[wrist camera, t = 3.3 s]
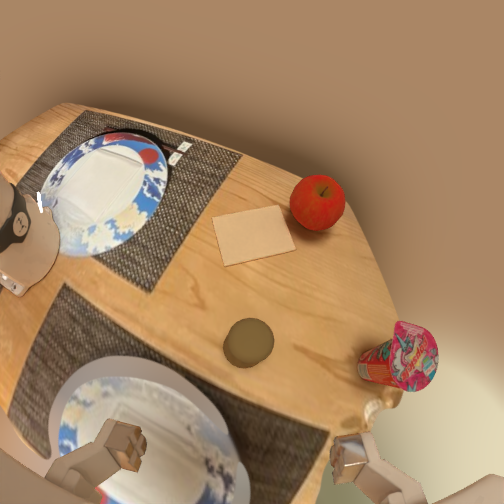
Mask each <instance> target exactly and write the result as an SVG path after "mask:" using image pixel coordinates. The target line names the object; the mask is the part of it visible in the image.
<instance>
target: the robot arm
mask: <svg viewBox="0 0 504 504" xmlns="http://www.w3.org/2000/svg"><path fill="white" fill-rule="evenodd" d="M37 196H38V203H37V202H36V201H35V200H34V199H33V198H32V197H31V196H30V195H28V194H27V195H22V194H21V192H20V190H19V189H18V188H17V187H15V186H14V185H13V184H12V183H9V182H8V181H7V179H6V178H5V177H4V175H3V174H2V173H1V171H0V284H2V285H3V286H4V287H5V288H7V289H8V290H9V291H11V292H12V293H13V294H15V295H16V296H18V297H21V296H23V295H24V293H25V292H26V291H27V290H28V288H29V287H30V286H32V285H34V284H35V283H37V282H39V281H40V280H41V279H42V278H43V277H44V276H45V275H46V274H47V273H48V271H49V270H50V269H51V267H52V265H53V263H54V261H55V259H56V256H57V253H58V249H59V243H60V236H59V230H58V228H57V226H56V224H55V223H54V221H53V219H52V211H51V209H50V208H49V207H42V205H41V198H40V193H39V192H37ZM141 432H142V430H141V428H140V427H139V426H135V425H131V424H127V423H123V422H120V421H116V420H113V419H107V420H106V421H105V423H104V425H103V427H102V428H101V430H100V432H99V434H98V436H97V437H96V439H95V441H94V443H92V442H90V443H88V444H86V445H84V446H82V447H80V448H78V449H76V450H74V451H72V452H70V453H68V454H66V455H64V456H62V457H60V458H58V459H56V460H55V461H54V463H53V464H52V466H51V467H50V469H49V471H48V473H47V474H46V476H45V478H43V477H41V476H40V475H38V474H36V473H35V472H33V471H32V470H30V469H29V468H27V467H26V466H24V465H23V464H21V463H20V462H18V461H17V460H16V459H14V458H13V457H11V456H10V455H9V454H7V453H6V452H5V451H4V450H2V449H1V448H0V504H100V502H101V499H102V495H101V494H100V493H99V492H98V491H97V490H96V489H95V487H97V486H98V485H99V484H101V483H102V482H104V481H105V480H106V479H108V478H109V477H111V476H112V475H113V474H115V473H116V472H117V471H119V470H120V469H121V468H123V469H126V470H130V471H134V472H138V470H139V467H140V465H141V462H142V461H141V459H140V457H141V456H143V455H144V454H145V452H146V447H147V442H146V438H145V437H144V436H143V435H142V434H141ZM330 463H331V466H333V467H334V470H333V472H332V475H333V480H334V484H335V485H336V484H343V483H349V482H353V483H354V484H355V485H356V486H357V487H358V488H359V489H360V490H361V491H362V492H363V493H364V494H365V495H367V497H369V498H370V499H371V500H372V501H373V502H374V503H375V504H428V503H427V500H426V497H425V495H424V492H423V490H422V486H421V484H420V483H419V482H417V481H416V480H414V479H413V478H411V477H410V476H408V475H407V474H405V473H404V472H402V471H401V470H399V469H398V468H396V467H395V466H393V465H392V464H390V463H389V462H387V461H386V460H385V459H383V460H381V458H380V455H379V452H378V449H377V446H376V443H375V440H374V437H373V435H372V433H371V432H370V431H368V432H363V433H356V434H349V435H343V436H336V437H335V439H334V445H333V446H331V450H330ZM433 504H504V477H501V476H498V475H495V474H489V475H487V476H485V477H483V478H481V479H480V480H478V481H476V482H474V483H473V484H471V485H469V486H467V487H466V488H464V489H462V490H460V491H458V492H456V493H454V494H452V495H450V496H448V497H446V498H444V499H442V500H439V501H437V502H435V503H433Z"/></svg>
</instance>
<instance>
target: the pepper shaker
mask: <svg viewBox="0 0 504 504" xmlns="http://www.w3.org/2000/svg"><path fill="white" fill-rule="evenodd" d="M273 347H274V336H273V333H272V331H271V329H270V327H269V326H268V325H267V324H266V323H265V322H263V321H261V320H259V319H255V318H246V319H242V320H240V321H238V322H236V323H235V324H234V325H233V326H232V327H231V329H230V331H229V333H228V335H227V337H226V339H225V341H224V346H223V350H224V355H225V356H226V358H227V360H228V361H229V362H230V363H231V364H232V365H234V366H237V367H240V368H249V367H252V366H254V365H256V364H258V363H259V362H261V361H262V360H264V359H266V358H267V357H268V356H269V355H270V353H271V351H272V349H273Z"/></svg>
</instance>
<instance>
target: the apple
mask: <svg viewBox="0 0 504 504" xmlns="http://www.w3.org/2000/svg"><path fill="white" fill-rule="evenodd" d="M344 208H345V195H344V192H343V190H342V188H341V186H340V185H339V184H338V183H337V182H336V181H335V180H334V179H332V178H330V177H328V176H325V175H312V176H308V177H306V178H304V179H302V180H301V181H300V182H299V183H298V184H297V185H296V186H295V188H294V190H293V192H292V194H291V196H290V209H291V212H292V214H293V216H294V218H295V219H296V220H297V221H298V222H299V223H300V224H301V225H302V226H304V227H305V228H307V229H310V230H314V231H319V230H324V229H327V228H330V227H332V226H333V225H334V224H335V223H336V222H337V221H338V220H339V218H340V217H341V216H342V215H343V212H344Z"/></svg>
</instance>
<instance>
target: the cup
mask: <svg viewBox="0 0 504 504" xmlns="http://www.w3.org/2000/svg"><path fill="white" fill-rule="evenodd" d="M437 367H438V348H437V344H436V342H435V339H434V337H433V336H432V335H431V333H430V332H429V331H428V330H426V329H425V328H423V327H420V326H417V325H414V324H410V323H406V322H403V321H397V322H396V323H395V327H394V334H393V338H392V339H390V340H389V341H387V342H385V343H383V344H381V345H379V346H377V347H375V348H373V349H371V350H369V351H367V352H365V353H364V354H362V356H361V357H360V359H359V361H358V373H359V375H360V376H361V377H362V378H363V379H364V380H367V381H371V382H375V383H379V384H384V385H388V386H393V387H397V388H401V389H403V390H405V391H408V392H416V391H419V390H421V389H423V388H425V387H426V386H427V385H428V384H429V383H430V382H431V380H432V379H433V377H434V375H435V373H436V370H437Z"/></svg>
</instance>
